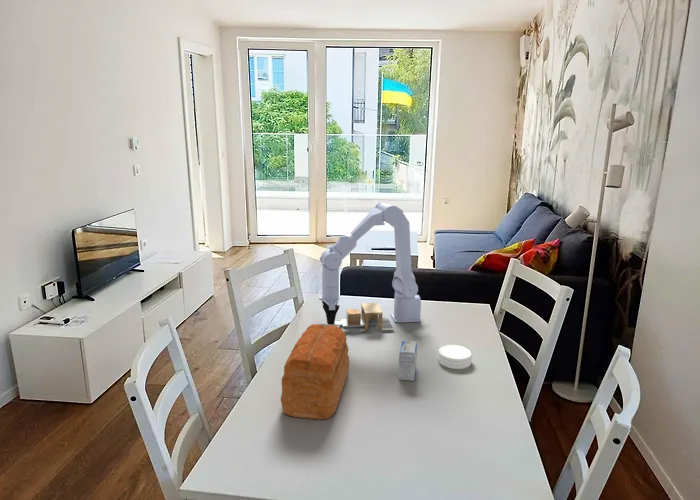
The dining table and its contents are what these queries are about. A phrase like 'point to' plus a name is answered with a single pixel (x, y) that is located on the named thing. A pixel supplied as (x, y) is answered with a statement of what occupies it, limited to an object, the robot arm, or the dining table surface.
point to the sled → (351, 319)
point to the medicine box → (407, 360)
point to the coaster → (454, 357)
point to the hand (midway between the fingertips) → (330, 321)
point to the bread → (315, 373)
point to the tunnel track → (370, 321)
